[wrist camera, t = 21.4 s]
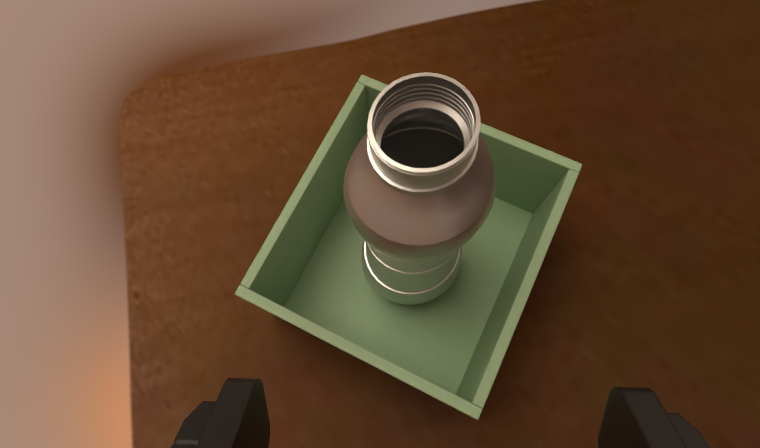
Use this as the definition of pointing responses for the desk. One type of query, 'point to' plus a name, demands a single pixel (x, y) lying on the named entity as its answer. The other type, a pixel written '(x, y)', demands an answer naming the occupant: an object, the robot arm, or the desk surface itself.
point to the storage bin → (419, 321)
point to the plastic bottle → (419, 186)
